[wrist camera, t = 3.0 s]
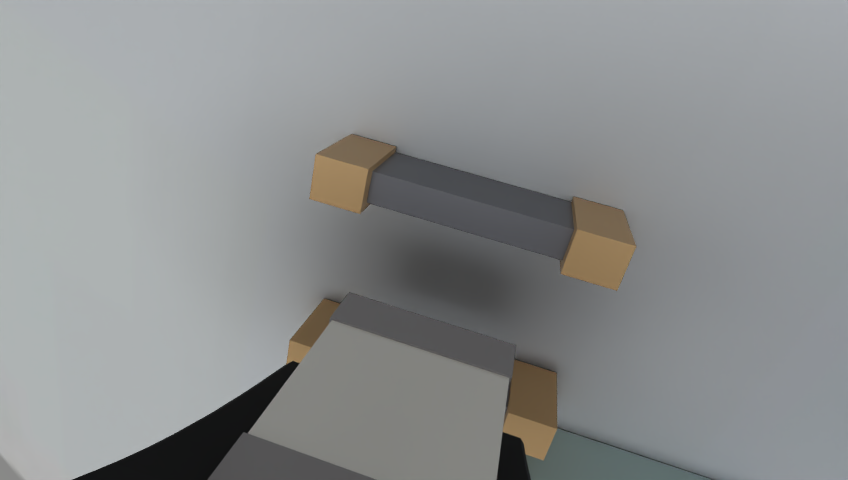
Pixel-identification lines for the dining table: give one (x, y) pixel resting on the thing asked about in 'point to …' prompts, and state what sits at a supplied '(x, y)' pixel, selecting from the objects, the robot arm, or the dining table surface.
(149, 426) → the dining table surface
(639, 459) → the tray
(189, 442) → the robot arm
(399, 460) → the gray block
